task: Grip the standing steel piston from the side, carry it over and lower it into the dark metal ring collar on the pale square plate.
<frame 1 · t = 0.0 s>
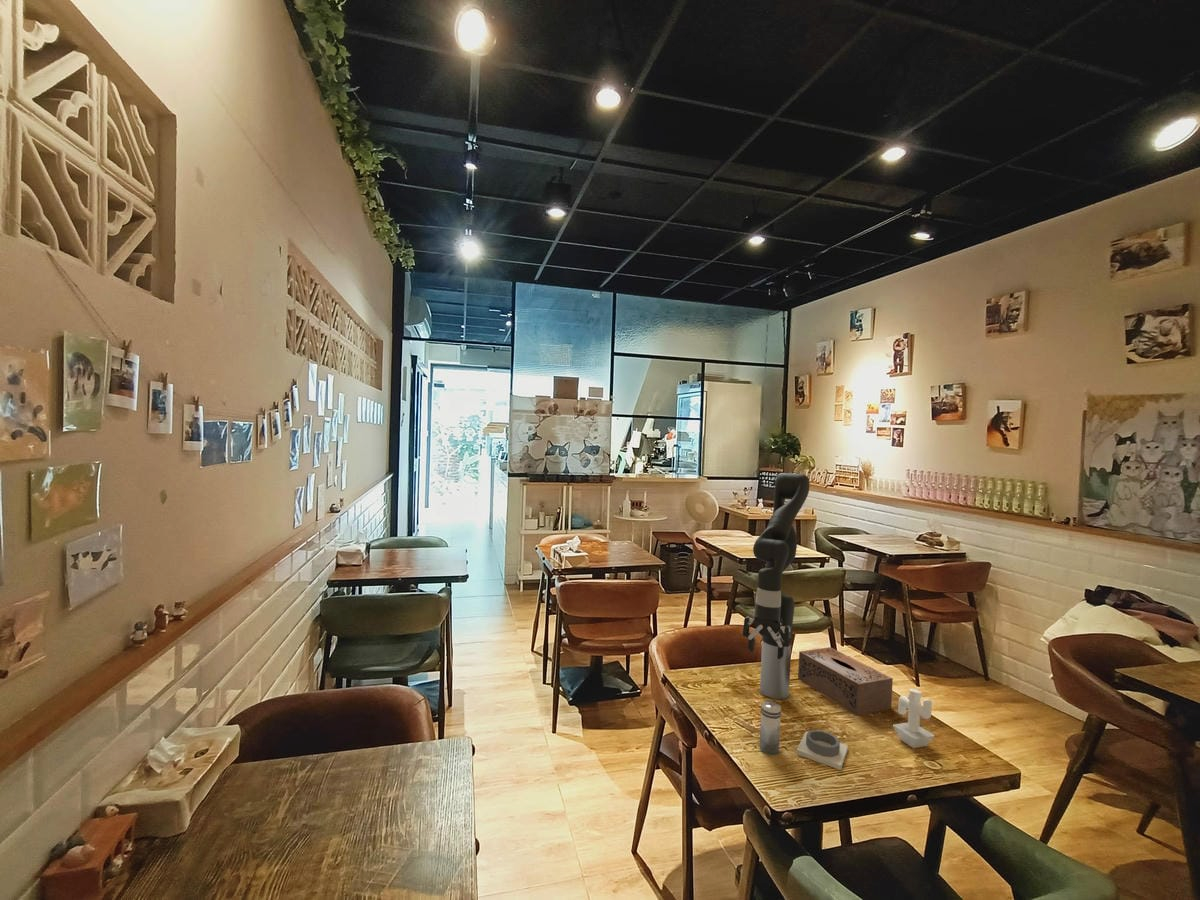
hand: (765, 654, 161), 17 cm above the table, tool pointing down, fingers open, 8 cm apart
piston: (769, 749, 140), on the table
ring stand: (822, 751, 140), on the table
tissue box cover: (842, 693, 174), on the table
figurine: (912, 743, 146), on the table
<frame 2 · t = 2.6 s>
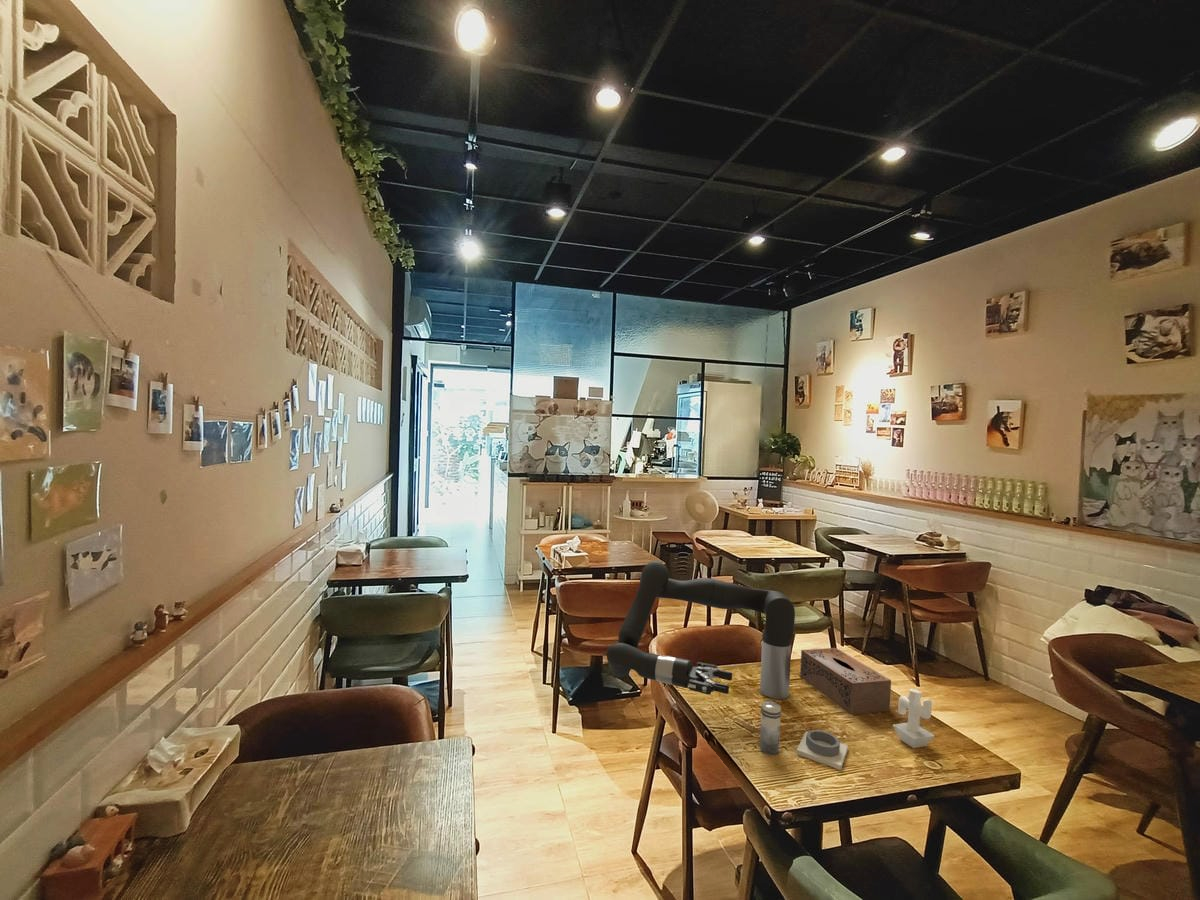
hand: (730, 683, 143), 16 cm above the table, tool horizontal, fingers open, 8 cm apart
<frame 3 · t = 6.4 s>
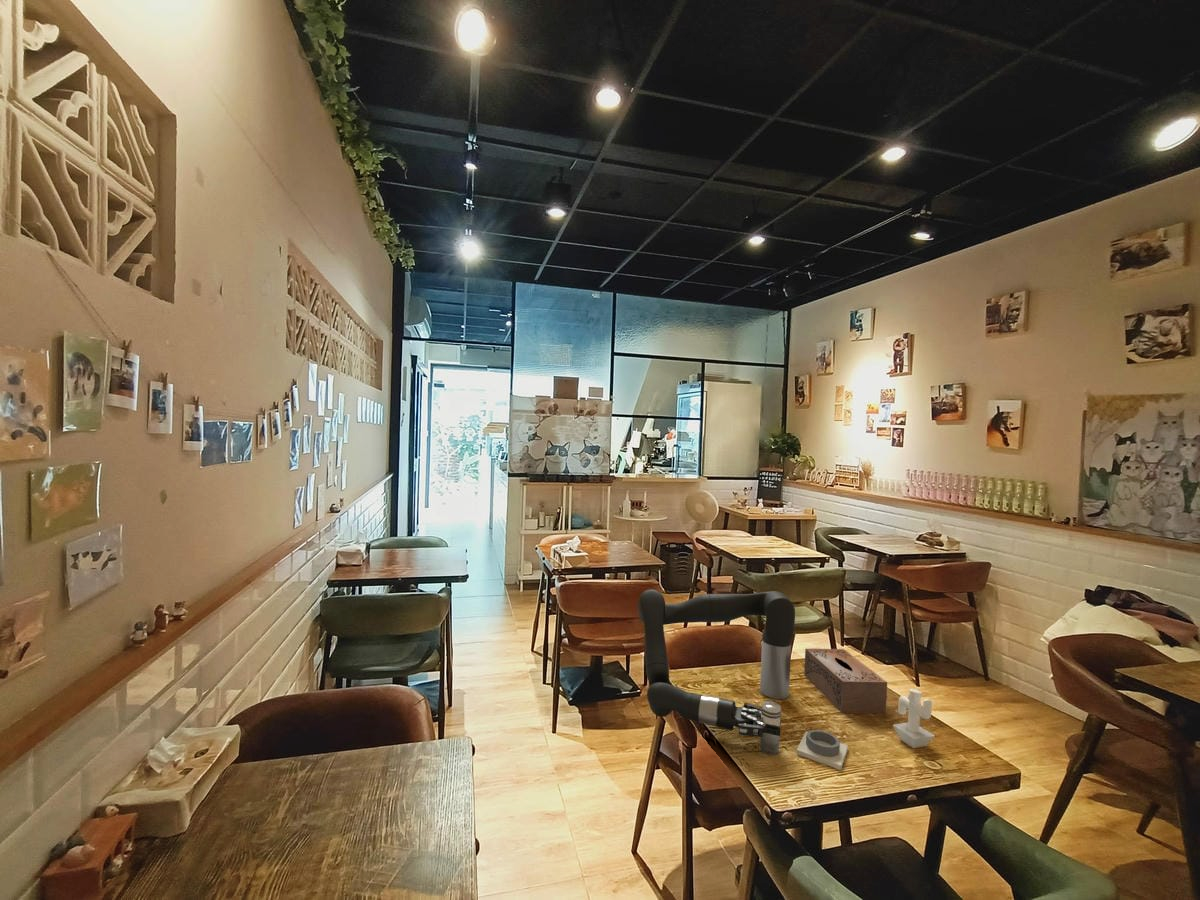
hand: (780, 726, 139), 7 cm above the table, tool horizontal, fingers closed on piston, 5 cm apart
piston: (769, 749, 140), on the table, touching gripper
when the fingers open (9 cm above the table, at t = 12.5 s): piston stays where it is, resting on ring stand.
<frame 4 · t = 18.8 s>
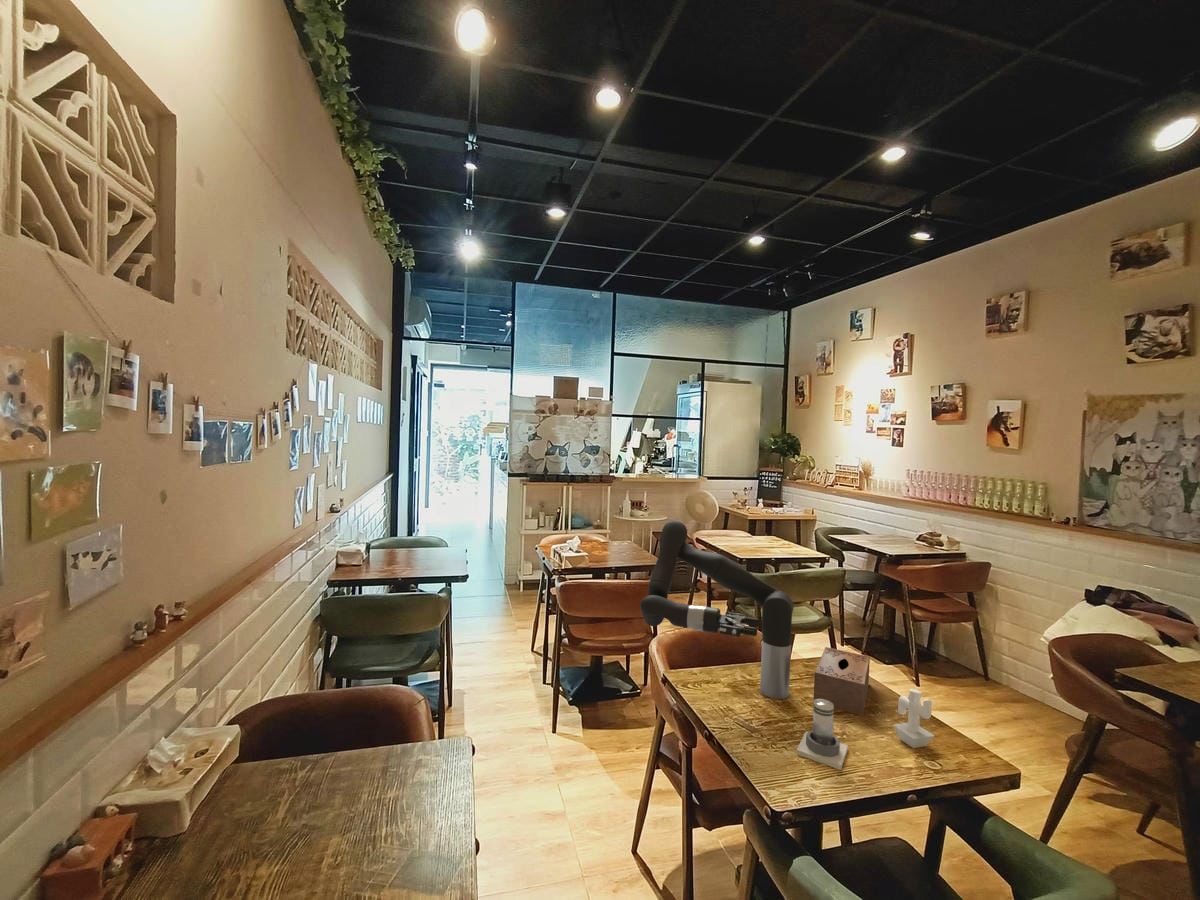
hand: (757, 627, 154), 28 cm above the table, tool horizontal, fingers open, 8 cm apart
piston: (822, 747, 140), point 1 cm above the table, touching ring stand
at the end: piston 0.1 cm off-centre on the ring stand, point 1.3 cm above the ring stand's base; piston tilted 1°; the gripper is holding nothing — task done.
